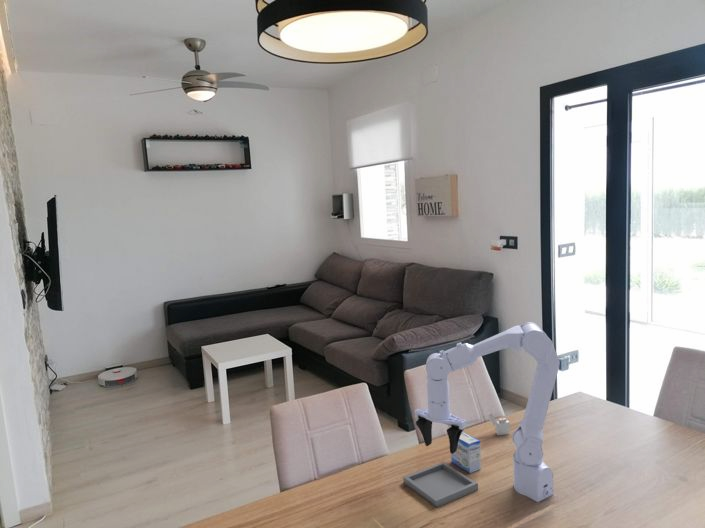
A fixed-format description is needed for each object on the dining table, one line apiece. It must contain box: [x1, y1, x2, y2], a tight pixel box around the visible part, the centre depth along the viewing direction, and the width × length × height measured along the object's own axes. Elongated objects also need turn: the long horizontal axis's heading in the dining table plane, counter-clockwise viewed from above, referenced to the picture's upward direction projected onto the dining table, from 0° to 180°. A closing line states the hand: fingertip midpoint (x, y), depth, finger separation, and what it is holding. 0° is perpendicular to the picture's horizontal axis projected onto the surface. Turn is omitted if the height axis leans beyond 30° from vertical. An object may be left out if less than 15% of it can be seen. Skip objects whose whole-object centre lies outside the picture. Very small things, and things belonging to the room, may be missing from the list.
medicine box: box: [450, 431, 482, 474], centre depth 144 cm, size 8×4×9 cm, turn 30°
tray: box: [402, 461, 479, 508], centre depth 134 cm, size 14×14×2 cm
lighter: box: [486, 411, 511, 436], centre depth 162 cm, size 7×2×8 cm, turn 99°
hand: (440, 448), depth 134 cm, fingers open, 7 cm apart
